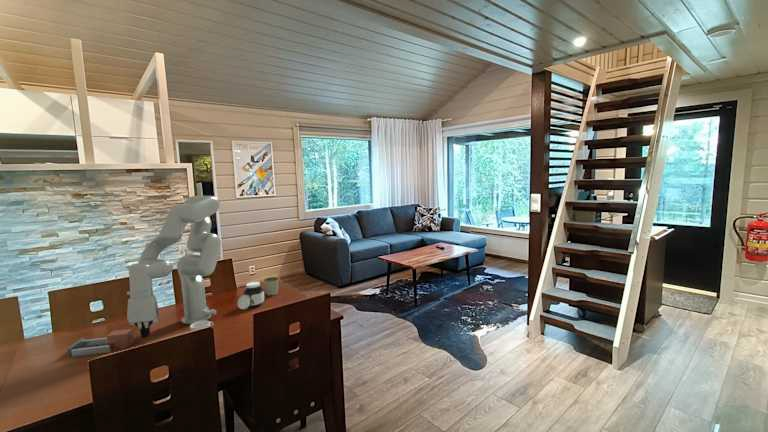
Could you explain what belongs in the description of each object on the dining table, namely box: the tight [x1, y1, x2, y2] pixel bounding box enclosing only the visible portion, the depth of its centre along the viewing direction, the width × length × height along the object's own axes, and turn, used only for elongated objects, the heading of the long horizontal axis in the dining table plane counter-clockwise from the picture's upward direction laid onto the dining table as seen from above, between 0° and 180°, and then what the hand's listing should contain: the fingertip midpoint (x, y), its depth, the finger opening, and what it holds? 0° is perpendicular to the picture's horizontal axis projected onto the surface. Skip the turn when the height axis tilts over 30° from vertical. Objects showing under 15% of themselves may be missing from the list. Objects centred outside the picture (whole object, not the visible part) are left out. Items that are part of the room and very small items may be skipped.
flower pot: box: [262, 276, 281, 297], centre depth 206 cm, size 9×9×9 cm
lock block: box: [106, 328, 135, 351], centre depth 147 cm, size 7×5×6 cm
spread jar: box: [237, 281, 265, 310], centre depth 187 cm, size 12×11×12 cm
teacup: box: [189, 320, 214, 332], centre depth 155 cm, size 10×8×5 cm
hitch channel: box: [67, 337, 112, 358], centre depth 145 cm, size 14×9×4 cm
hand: (145, 336), depth 148 cm, fingers closed
